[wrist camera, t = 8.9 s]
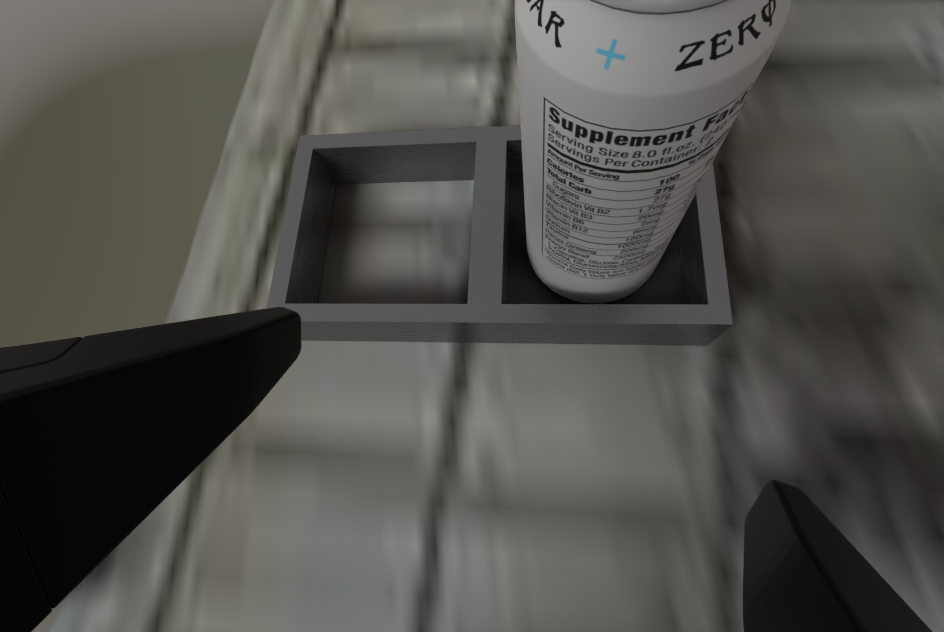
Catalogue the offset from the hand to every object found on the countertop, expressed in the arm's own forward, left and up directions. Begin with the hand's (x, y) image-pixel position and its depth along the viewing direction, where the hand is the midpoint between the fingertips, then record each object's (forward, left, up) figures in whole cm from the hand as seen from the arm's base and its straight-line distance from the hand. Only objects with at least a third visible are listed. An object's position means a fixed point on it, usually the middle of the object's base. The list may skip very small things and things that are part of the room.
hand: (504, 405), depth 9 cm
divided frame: (+10, +2, -13) cm, 16 cm away
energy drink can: (+9, -3, -13) cm, 16 cm away
